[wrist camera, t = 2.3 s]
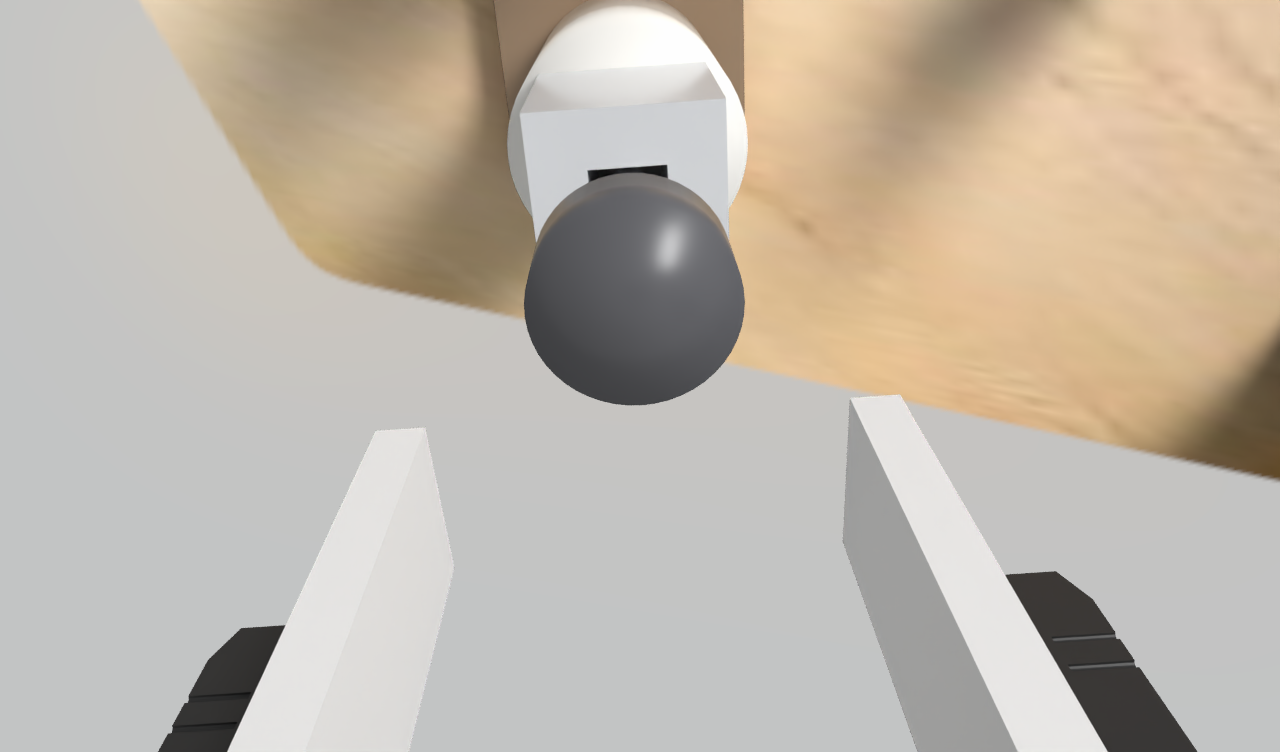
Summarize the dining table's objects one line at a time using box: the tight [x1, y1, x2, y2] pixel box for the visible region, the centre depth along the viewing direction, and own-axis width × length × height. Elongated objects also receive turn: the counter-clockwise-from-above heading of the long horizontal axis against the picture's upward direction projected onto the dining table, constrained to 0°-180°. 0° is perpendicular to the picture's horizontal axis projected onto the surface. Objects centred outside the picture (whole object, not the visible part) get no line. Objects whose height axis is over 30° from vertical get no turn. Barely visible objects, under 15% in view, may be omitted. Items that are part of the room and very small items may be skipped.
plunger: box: [524, 168, 745, 405], centre depth 24 cm, size 5×5×9 cm
